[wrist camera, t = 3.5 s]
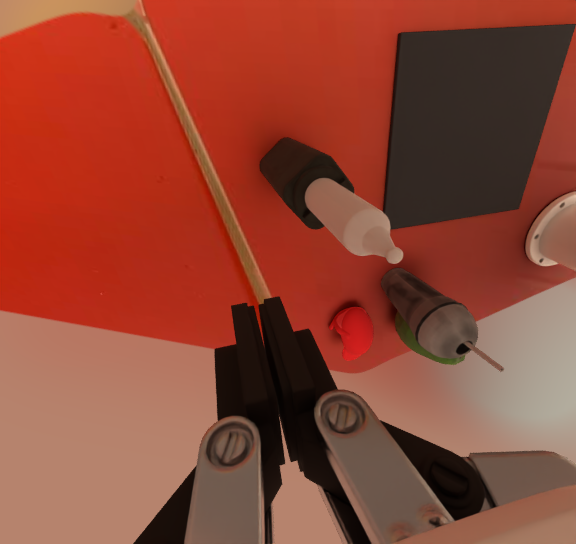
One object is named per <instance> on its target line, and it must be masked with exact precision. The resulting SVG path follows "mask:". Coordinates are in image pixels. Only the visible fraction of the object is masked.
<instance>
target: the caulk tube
mask: <svg viewBox="0 0 576 544" xmlns="http://www.w3.org/2000/svg"><path fill="white" fill-rule="evenodd" d="M260 171H261V172H262V174H263V175H264V176H265V178H266V179H267V180H268V181H269V183H270V184H271V185H272V187H273V188H274V189H275V190H276V192H277V193H278V194H279V196H280V197H281V198H282V199H283V201H284V202H285V203H286V205H287V206H288V207H289V208H290V209H291V210H292V211H293V212H294V213H295V214H296V215H297V216H298V217H299V218H300V219H301V220H302V222H303V223H304V224H305V225H306V226H307V227H309V228H311V229H320V228H323V227H324V226H325V227H326V228H327V229H328V230H329V231H330V232H331V233H332V234H333V235H334V236H335V237H336V238H337V239H338V240H339V241H340V242H341V243H342V244H343V245H344V247H345V248H346V249H347V250H349V251H350V252H351V253H353V254H355V255H358V256H367V255H372V254H374V255H378V256H382V257H385V258H386V260H387V261H388V262H389V263H391V264H396V263H399V262H400V261H401V260H402V258H403V252H402V250H401V249H400V248H397V247H395V245H394V243H393V241H392V239H391V237H390V228H391V227H390V221H389V219H388V217H387V216H386V215H385V214H384V213H383V212H382V211H381V210H379V209H378V208H376V207H374V206H373V205H371V204H370V203H368V202H366V201H365V200H363V199H362V198H360V197H359V196H357V195H355V194H354V187H353V185H352V183H351V182H350V181H349V179H348V178H347V177H346V175H345V174H344V173H343V171H342V170H341V169H340V167H339V166H338V165H337V163H336V162H335V161H334V160H333V158H332V157H331V156H329V155H327V154H325V153H322V152H320V151H318V150H316V149H313V148H311V147H309V146H307V145H304V144H302V143H300V142H298V141H295V140H293V139H291V138H283V139H281V140H280V141H279V142H278V143H277V144H276V145H275V146H274V147H273V148H272V149H271V150H270V151H269V152H268V153H267V154H266V155H265V156H264V157H263V158H262V160H261V161H260Z"/></svg>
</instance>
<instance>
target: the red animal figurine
mask: <svg viewBox="0 0 576 544" xmlns="http://www.w3.org/2000/svg"><path fill="white" fill-rule="evenodd" d="M334 327H335V329H336V331H337V332H338V333H339V334H341V339H342V342H343V345H344V349H343V352H342V356H343V358H344V359H345V360H348V361H350V360H354V359H356V358H358V357H359V356H361V355H362V354H364V353H365V352H367V350H368V349H369V348H370V346H371V344H372V341H373V334H374V331H373V324H372V321H371V319H370V317H369V315H368V314H367V313H366V311H365V310H364V309H363V308H361V307H349V308H347V309H344V310H342V311H340V312H339V313H338V314H337V315H336V316H335V318H334V319H333V321H332V323H331V324H330V326H329V329H330V330H333V328H334Z"/></svg>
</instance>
